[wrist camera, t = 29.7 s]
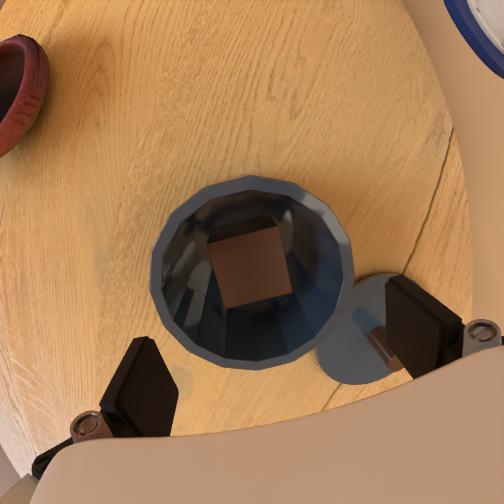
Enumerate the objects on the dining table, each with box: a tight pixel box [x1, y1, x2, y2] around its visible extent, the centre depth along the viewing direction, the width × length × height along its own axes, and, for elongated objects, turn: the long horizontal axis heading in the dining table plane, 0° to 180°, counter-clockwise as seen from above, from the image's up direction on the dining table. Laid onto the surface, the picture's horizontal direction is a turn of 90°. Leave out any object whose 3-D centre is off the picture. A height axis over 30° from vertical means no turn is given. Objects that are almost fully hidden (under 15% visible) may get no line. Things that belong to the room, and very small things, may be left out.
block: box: [206, 216, 292, 309], centre depth 23 cm, size 5×5×5 cm
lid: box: [316, 273, 419, 385], centre depth 26 cm, size 14×14×6 cm
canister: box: [149, 175, 355, 371], centre depth 21 cm, size 13×13×8 cm
